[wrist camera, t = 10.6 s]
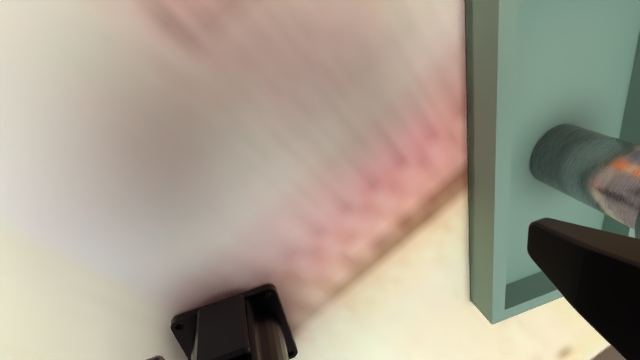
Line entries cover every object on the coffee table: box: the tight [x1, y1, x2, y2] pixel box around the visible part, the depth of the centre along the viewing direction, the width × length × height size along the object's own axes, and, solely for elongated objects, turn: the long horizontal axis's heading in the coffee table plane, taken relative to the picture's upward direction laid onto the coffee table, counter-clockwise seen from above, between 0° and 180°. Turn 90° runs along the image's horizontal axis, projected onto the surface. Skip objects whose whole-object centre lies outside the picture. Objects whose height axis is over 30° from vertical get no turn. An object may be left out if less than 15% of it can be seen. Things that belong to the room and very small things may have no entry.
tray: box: [465, 0, 640, 324], centre depth 23 cm, size 22×12×2 cm, turn 13°
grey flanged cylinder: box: [530, 124, 640, 239], centre depth 20 cm, size 5×5×8 cm
